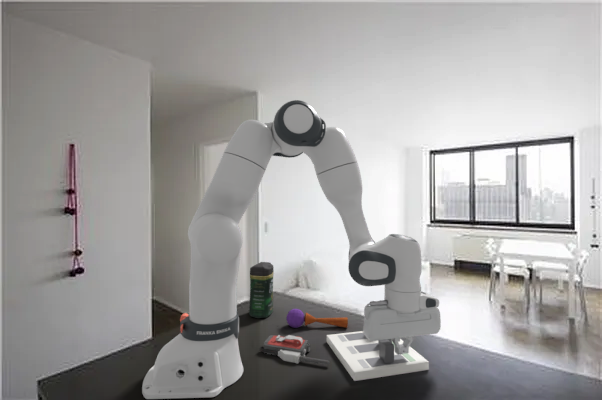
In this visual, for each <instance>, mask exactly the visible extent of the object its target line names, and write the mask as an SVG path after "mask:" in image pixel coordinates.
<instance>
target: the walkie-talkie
mask: <svg viewBox="0 0 602 400" xmlns="http://www.w3.org/2000/svg"><path fill="white" fill-rule="evenodd" d="M258 349H259V351H260V352H263V353H264V354H265V353H267V354H266V355H271V354H272V355H271V356H276V355H277V356H278V357H279V358H280V359H281V360H282V361H284V362H288V363H293V364H294V363H295V364H296V365H297V364H299V363H300V362H308V363H313V364H325V365H330V361H329V360H326V359H320V358H315V357H309V356H308V357H307V356H306V354H307V353H309V352H310V351H311V344H310V343H309V340H308V339H303V337H302V336H297V335H296V336H295V335H292V334H291V335H290V334H288V335H286V336H282V335H280V334H278V335H274V334H273V335H271V334H270V335H269V336H268V337H267V338H266V339H265V341H264V342H263V346H262V345H261V346H260V347H259V348H258Z"/></svg>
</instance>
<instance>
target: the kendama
mask: <svg viewBox="0 0 602 400" xmlns="http://www.w3.org/2000/svg"><path fill="white" fill-rule="evenodd" d="M286 323H287V324H288V326H289V327H291V328H295V329H297V328H300V327H301V326H303V325H304V326H305V327H306V326H308V325H311V324H313V323H321V324H325V325H328V326H329V325H330V326H335V327H340V328H343V329H345V328H346V329H348V325H349V318H348V317H346V316H345V317H344V316H343V317H315V316H313V315H312V314H310V313H308V312H305V314H304V312H303V311H302V310H301V309H299V308H293V309H290V310H289V311H288V313H287V314H286Z"/></svg>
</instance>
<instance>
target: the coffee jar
mask: <svg viewBox="0 0 602 400" xmlns="http://www.w3.org/2000/svg"><path fill="white" fill-rule="evenodd" d="M274 274H275V273H274V265H273V264H272V263H271V262H270V261H269V262H267V261H260V262H258V263H256V264H254V265H253V266H251V267H250V269H249V310H248V313H249V316H250V317H252V318H255V319H262V318H265V319H266V318H268V317H270V315H272V313H273V312H274Z"/></svg>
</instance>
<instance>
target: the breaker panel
mask: <svg viewBox="0 0 602 400" xmlns="http://www.w3.org/2000/svg"><path fill="white" fill-rule="evenodd" d="M403 342H404V340H403V339H402V338H400V342H398V343H399V345H400V344H403ZM326 343H327V345H329V347H330V349H331V350H332V352H333V353H334V354H335V356H336V357H337V359H338V360H339V362H340V363H341V364H342V366H343V367H344V368H345V370H346V372H348V374H349V376H350V377H351V379H353V381H354V382H356V381H363V380H370V379H377V378H381V377H382V378H384V377H389V376H396V375H402V374H403V375H404V374H409V373H417V372H422V371H429V370H430V361H428V359H426V358H425V357H424V356H423V355H421V354H420V353H419V352H418V351H416V350H415V349H414V348H412V347H411V345H410V346H409V353H407V354H399V355H398V354H396V353H395V345H394V362H390V363H385V362H384V361H383V360H382V359H381V358H380V357H379V343H378V341H370V340H369V339H368V338H367V337H366V336H365V335H364V333H363V330H361V331H360V330H359V331H353V332H352V331H351V332H344V333H336V334H335V333H334V334H326ZM392 344H394V343H393V342H392Z"/></svg>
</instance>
